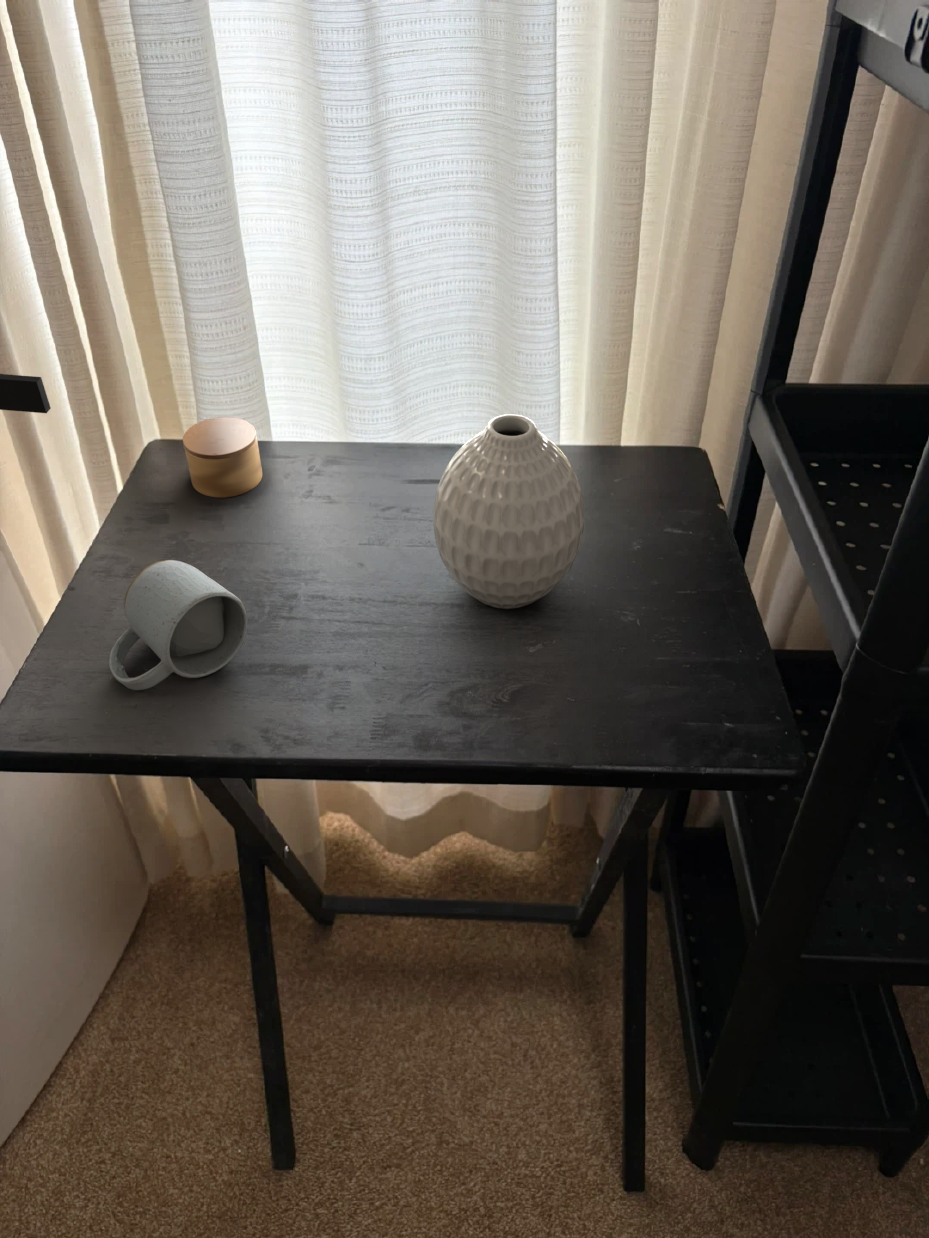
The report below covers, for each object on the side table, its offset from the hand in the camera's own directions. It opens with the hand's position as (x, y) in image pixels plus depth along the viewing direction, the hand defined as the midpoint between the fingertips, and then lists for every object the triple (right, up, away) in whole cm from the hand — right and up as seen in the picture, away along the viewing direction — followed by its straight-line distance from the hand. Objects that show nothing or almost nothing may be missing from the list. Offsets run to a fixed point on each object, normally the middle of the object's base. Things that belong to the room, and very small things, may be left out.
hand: (1, 443), depth 74 cm
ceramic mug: (+9, -16, +13) cm, 22 cm away
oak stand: (+9, +2, +33) cm, 34 cm away
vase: (+37, -10, +19) cm, 43 cm away
